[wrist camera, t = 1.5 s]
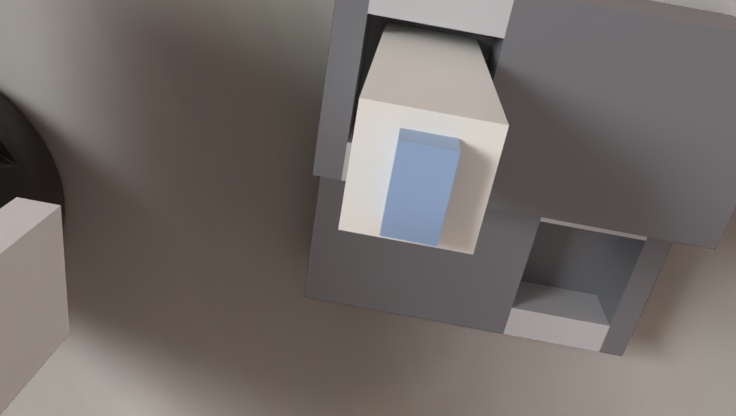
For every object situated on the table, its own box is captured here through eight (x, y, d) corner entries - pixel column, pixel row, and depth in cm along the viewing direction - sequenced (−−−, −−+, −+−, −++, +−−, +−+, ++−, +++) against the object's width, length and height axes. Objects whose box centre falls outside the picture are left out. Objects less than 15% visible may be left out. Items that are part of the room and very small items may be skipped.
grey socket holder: (313, 264, 37) (291, 336, 31) (359, -53, 29) (341, -42, 23) (605, 318, 37) (641, 401, 31) (731, 15, 29) (814, 44, 23)
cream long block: (371, 109, 29) (333, 246, 17) (386, 22, 27) (355, 108, 15) (456, 124, 29) (475, 272, 17) (476, 38, 27) (513, 138, 15)
